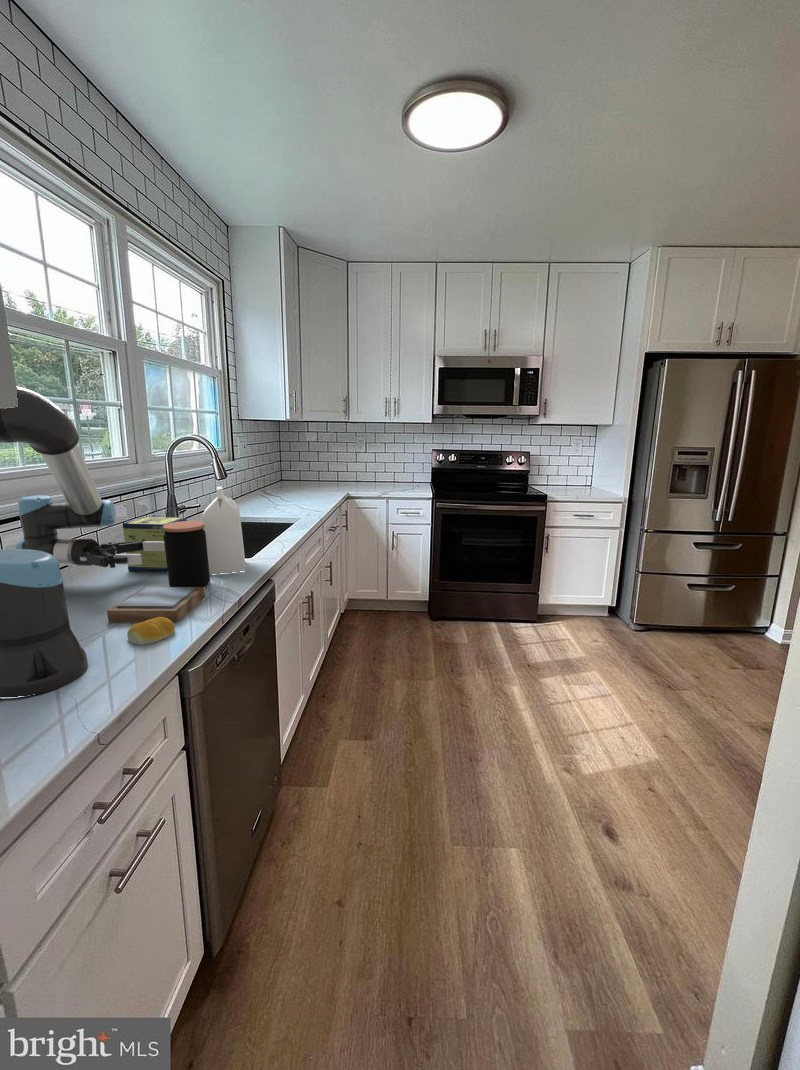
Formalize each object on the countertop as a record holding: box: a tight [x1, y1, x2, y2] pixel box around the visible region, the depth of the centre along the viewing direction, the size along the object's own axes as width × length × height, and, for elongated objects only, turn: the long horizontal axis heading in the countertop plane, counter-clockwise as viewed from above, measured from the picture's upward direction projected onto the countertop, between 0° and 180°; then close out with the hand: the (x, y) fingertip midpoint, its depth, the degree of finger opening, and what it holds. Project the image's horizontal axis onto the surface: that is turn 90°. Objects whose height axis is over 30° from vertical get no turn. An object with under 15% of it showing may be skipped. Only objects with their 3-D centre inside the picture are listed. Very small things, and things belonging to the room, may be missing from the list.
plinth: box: [106, 586, 206, 624], centre depth 116 cm, size 16×16×4 cm
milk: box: [202, 486, 246, 576], centre depth 146 cm, size 12×12×26 cm
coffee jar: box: [162, 520, 211, 588], centre depth 130 cm, size 11×11×18 cm
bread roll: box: [126, 617, 176, 646], centre depth 101 cm, size 8×9×4 cm
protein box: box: [122, 516, 188, 573], centre depth 149 cm, size 10×16×16 cm
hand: (154, 552), depth 130 cm, fingers open, 13 cm apart
